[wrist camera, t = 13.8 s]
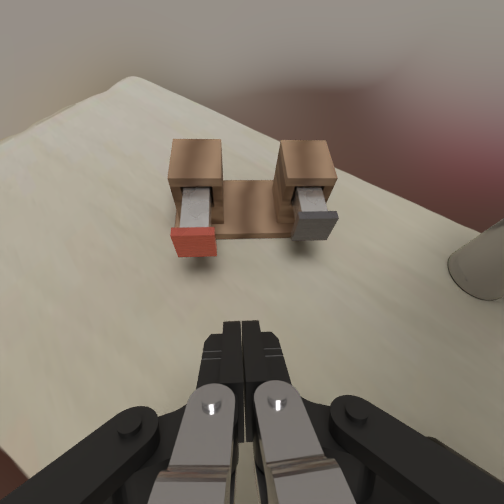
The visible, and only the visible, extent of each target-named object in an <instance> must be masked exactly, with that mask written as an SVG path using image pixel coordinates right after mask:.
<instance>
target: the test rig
mask: <svg viewBox="0 0 504 504" xmlns="http://www.w3.org/2000/svg"><path fill="white" fill-rule="evenodd" d="M336 181H337V175H336V172H335V168H334V165H333V162H332V159H331V156H330V153H329V150H328V146H327V143H326V141H312V140H308V141H307V140H281V142H280V148H279V153H278V159H277V165H276V170H275V176H274V180H223V168H222V148H221V139H173V142H172V150H171V157H170V164H169V171H168V182H169V185H170V188H171V192H172V195H173V199H174V202H175V205H176V209H177V210H176V220H175V228H180V218H181V207H182V196H183V187H195V186H212V206H211V227H215V236H216V239H243V238H291V231H292V228H293V225H294V222H295V217H294V212H293V206H292V201H291V198H292V195H293V191H294V188H295V186H321V188H322V191H323V195H324V199H325V203H326V202H327V200H328V198H329V196H330V194H331V191H332V189H333V187H334V185H335V183H336Z"/></svg>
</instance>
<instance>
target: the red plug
mask: <svg viewBox="0 0 504 504" xmlns="http://www.w3.org/2000/svg"><path fill="white" fill-rule="evenodd" d="M211 206H212V186H195V187H183V196H182V207H181V218H180V228H171V235H170V236H171V239H172V242H173V244H174V247H175V249H176V252H177V255H178V257H204V256H217V245H216V236H215V227H211Z"/></svg>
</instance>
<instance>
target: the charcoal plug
mask: <svg viewBox="0 0 504 504" xmlns="http://www.w3.org/2000/svg"><path fill="white" fill-rule="evenodd" d="M291 201H292V206H293V212H294V217H295V222H294V225H293V228H292V231H291V240H292V241H306V240H327V238H328V236H329V235H330V233H331V231H332V229H333V228H334V226H335V224H336V222H337V220H338V219H339V218H338V214H337V211H328V210H327V206H326V203H325V199H324V195H323V191H322V188H321V186H295V188H294V191H293V195H292V198H291Z"/></svg>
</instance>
